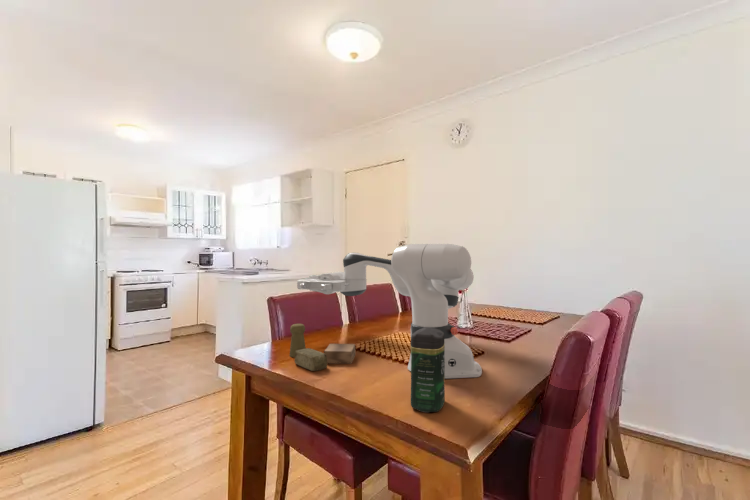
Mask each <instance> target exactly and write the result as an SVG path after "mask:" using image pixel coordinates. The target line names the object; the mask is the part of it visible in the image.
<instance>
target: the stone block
mask: <svg viewBox="0 0 750 500" xmlns="http://www.w3.org/2000/svg"><path fill="white" fill-rule="evenodd" d="M294 363H295V364H296V365H297V366H299V367H301V368H304V369H306V370H309V371H311V372H316V371H321V370H324V369H326V368H328V363H327V356H326V354H325V353H324V352H322V351H318V350H316V349H314V348H311V347H310V348H308V347H306V349H301V350H296V351H295V358H294Z"/></svg>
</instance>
